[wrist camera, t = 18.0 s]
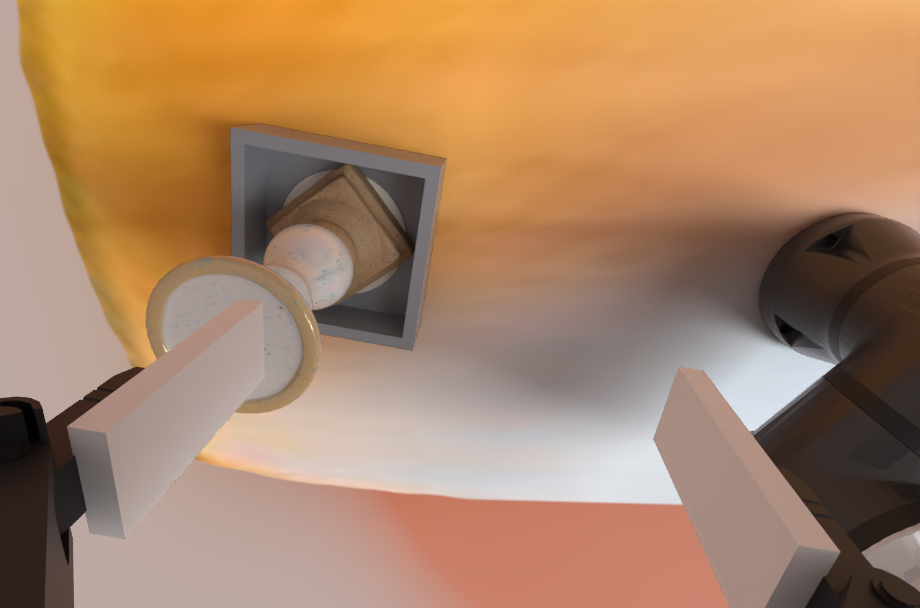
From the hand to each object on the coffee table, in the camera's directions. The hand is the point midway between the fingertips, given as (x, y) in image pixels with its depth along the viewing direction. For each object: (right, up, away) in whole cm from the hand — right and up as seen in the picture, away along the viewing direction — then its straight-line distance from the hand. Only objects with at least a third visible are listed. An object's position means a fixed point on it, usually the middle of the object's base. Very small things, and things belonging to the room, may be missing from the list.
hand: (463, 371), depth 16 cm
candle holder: (-12, +9, +35) cm, 38 cm away
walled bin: (-12, +10, +36) cm, 39 cm away
